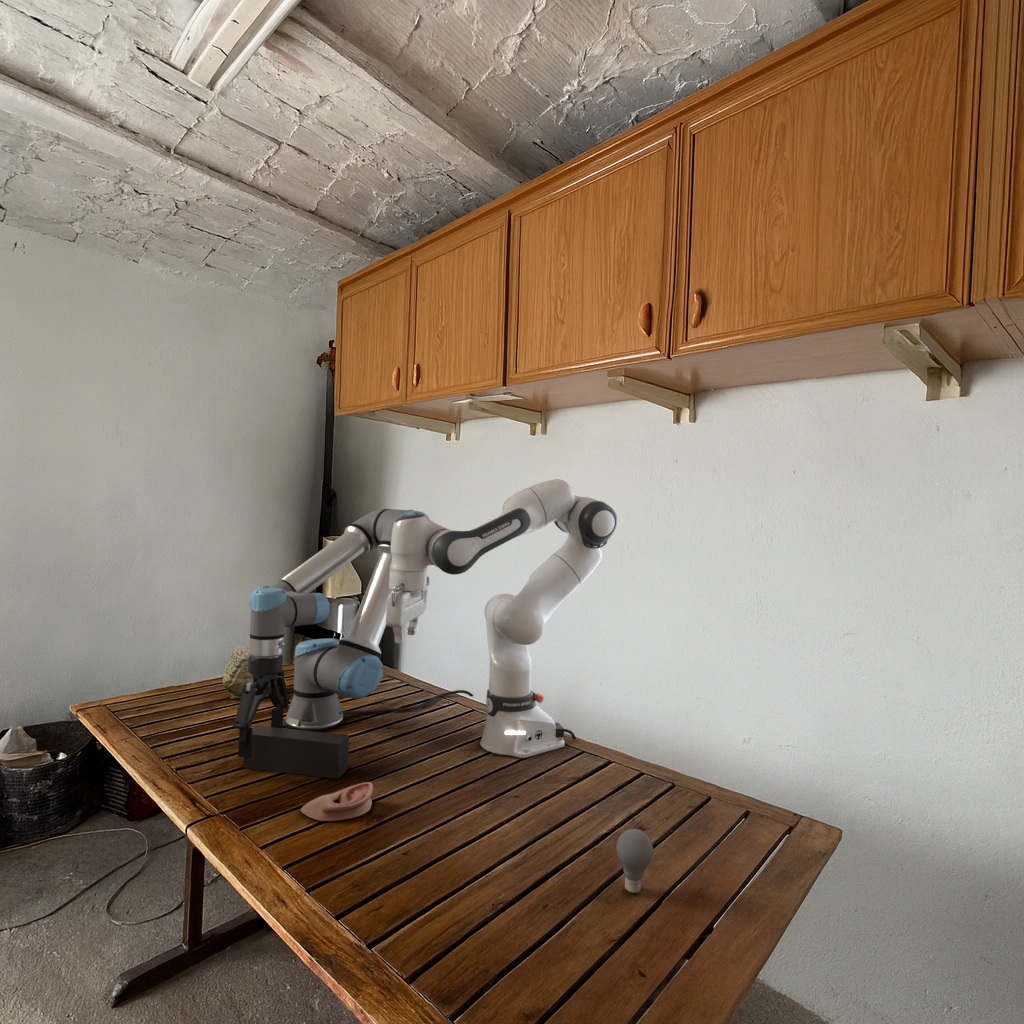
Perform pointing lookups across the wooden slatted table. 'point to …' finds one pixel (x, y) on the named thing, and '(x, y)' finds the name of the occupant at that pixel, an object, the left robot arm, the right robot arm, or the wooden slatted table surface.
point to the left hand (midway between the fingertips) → (261, 746)
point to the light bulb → (634, 857)
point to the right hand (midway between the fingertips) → (405, 638)
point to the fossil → (237, 672)
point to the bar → (298, 752)
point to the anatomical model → (341, 804)
